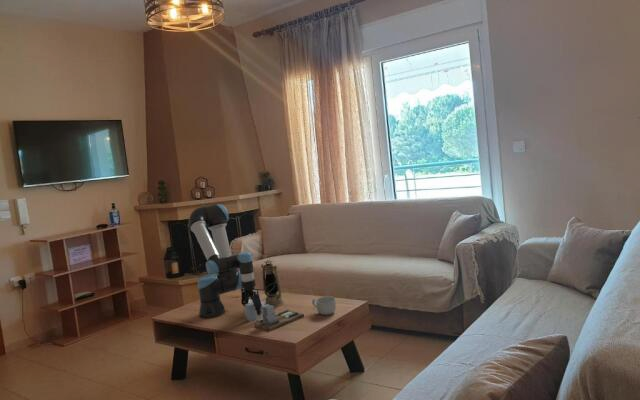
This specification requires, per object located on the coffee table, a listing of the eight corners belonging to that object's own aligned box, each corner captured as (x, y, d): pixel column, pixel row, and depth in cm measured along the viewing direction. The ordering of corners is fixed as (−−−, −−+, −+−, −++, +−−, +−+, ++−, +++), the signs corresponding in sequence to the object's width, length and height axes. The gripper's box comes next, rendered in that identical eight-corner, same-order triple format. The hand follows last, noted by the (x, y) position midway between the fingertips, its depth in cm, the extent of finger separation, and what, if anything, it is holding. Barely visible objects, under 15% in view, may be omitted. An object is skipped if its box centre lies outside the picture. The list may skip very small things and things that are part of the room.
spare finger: (260, 318, 263) (257, 302, 262) (251, 321, 259) (248, 305, 259) (255, 316, 267) (253, 301, 266) (246, 320, 263) (244, 304, 262)
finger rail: (254, 326, 251) (252, 307, 250) (288, 312, 267) (285, 294, 266) (270, 331, 241) (267, 311, 240) (304, 316, 256) (301, 298, 255)
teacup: (340, 311, 258) (339, 297, 257) (327, 318, 250) (325, 303, 249) (322, 308, 267) (320, 294, 266) (309, 314, 259) (307, 300, 258)
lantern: (259, 306, 285) (252, 257, 283) (273, 300, 294) (266, 253, 291) (275, 309, 276) (268, 259, 273) (289, 302, 284) (283, 254, 281)
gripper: (265, 280, 255) (270, 320, 257) (242, 276, 272) (248, 313, 274) (253, 284, 250) (259, 324, 252) (231, 279, 267) (237, 317, 269)
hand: (253, 318), depth 263 cm, fingers open, 10 cm apart
